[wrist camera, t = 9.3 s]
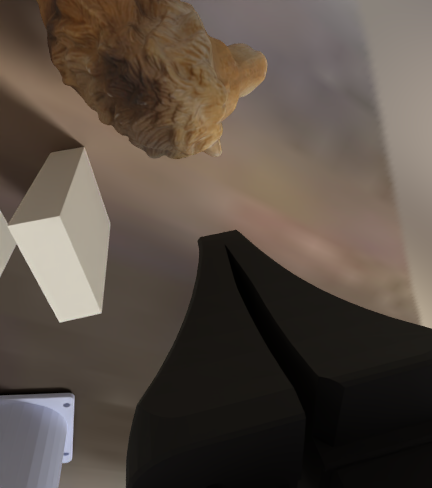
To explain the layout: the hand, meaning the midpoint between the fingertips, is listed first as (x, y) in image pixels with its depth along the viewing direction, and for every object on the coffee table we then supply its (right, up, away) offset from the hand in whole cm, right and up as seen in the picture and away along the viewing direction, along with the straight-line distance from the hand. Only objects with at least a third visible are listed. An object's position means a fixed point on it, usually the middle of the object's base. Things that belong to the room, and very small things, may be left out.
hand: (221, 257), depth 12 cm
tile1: (-7, +3, +6) cm, 10 cm away
